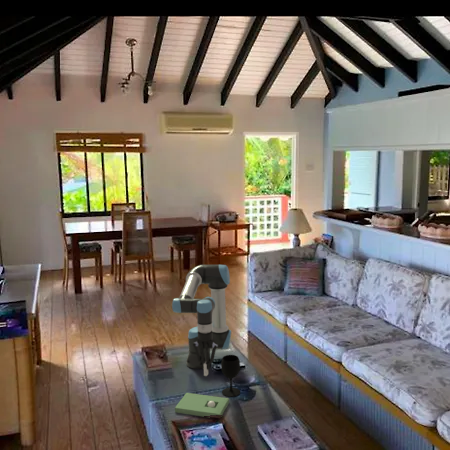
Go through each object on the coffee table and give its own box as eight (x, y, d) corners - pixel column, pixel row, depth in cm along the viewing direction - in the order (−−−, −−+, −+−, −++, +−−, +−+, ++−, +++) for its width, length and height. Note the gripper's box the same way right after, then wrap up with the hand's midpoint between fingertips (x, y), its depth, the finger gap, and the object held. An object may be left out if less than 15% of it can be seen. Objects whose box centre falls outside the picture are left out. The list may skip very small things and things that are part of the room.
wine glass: (224, 398, 255) (223, 363, 252) (219, 389, 265) (218, 355, 262) (242, 395, 258) (242, 360, 255) (237, 386, 268) (236, 353, 265)
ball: (210, 408, 246) (207, 401, 247) (217, 406, 246) (214, 398, 246) (208, 411, 242) (205, 403, 243) (215, 408, 242) (212, 400, 242)
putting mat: (186, 397, 257) (186, 392, 257) (228, 402, 250) (228, 398, 250) (175, 412, 242) (174, 407, 242) (219, 418, 235) (219, 414, 235)
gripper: (190, 332, 238) (191, 376, 241) (215, 334, 234) (216, 379, 238) (195, 327, 245) (196, 370, 249) (219, 329, 241) (220, 373, 245)
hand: (206, 374), depth 243 cm, fingers closed
